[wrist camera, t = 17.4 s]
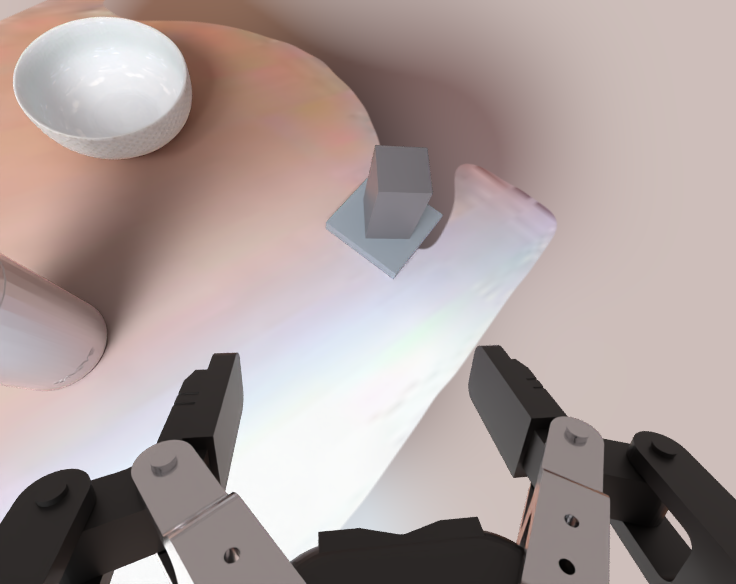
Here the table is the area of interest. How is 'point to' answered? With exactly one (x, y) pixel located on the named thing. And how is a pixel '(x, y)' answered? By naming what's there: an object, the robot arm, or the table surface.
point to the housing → (396, 191)
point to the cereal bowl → (105, 87)
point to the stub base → (378, 251)
